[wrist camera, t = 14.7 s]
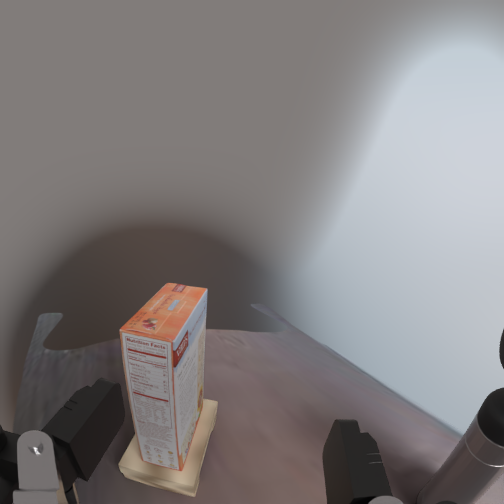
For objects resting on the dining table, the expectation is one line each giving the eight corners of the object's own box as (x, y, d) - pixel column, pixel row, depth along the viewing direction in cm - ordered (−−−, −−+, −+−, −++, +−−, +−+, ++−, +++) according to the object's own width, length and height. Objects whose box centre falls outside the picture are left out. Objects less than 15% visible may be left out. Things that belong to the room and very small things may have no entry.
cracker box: (167, 400, 43) (166, 280, 38) (204, 408, 43) (211, 287, 38) (137, 461, 29) (116, 325, 25) (182, 473, 29) (178, 339, 24)
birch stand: (216, 417, 46) (217, 401, 45) (194, 499, 28) (193, 486, 27) (161, 405, 46) (160, 389, 45) (123, 479, 29) (118, 464, 28)
